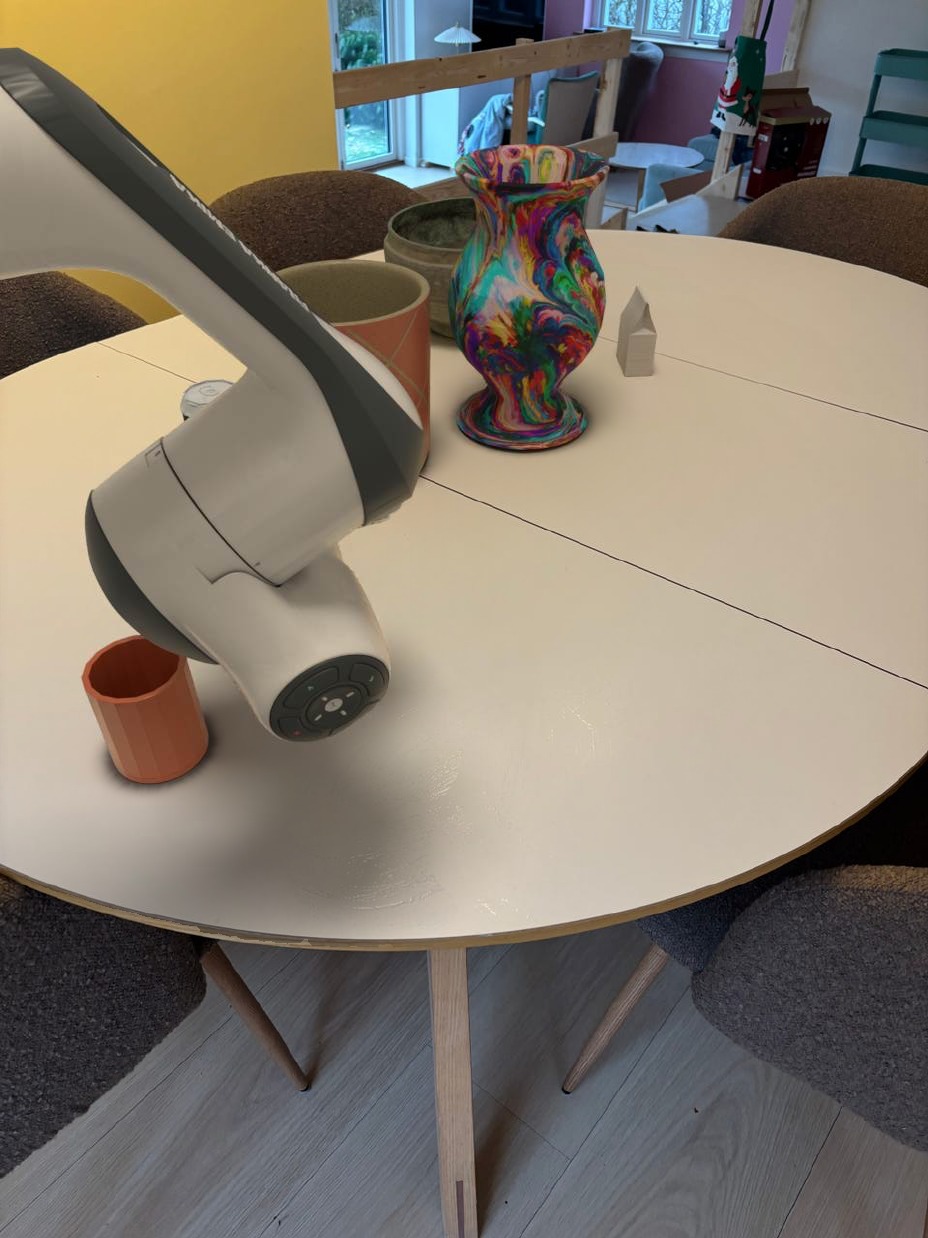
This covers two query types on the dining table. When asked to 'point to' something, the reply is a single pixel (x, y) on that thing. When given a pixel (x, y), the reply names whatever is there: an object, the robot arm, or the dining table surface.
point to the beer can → (201, 395)
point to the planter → (376, 316)
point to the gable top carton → (636, 337)
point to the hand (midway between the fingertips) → (221, 451)
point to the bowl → (432, 247)
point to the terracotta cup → (146, 709)
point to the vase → (527, 291)
